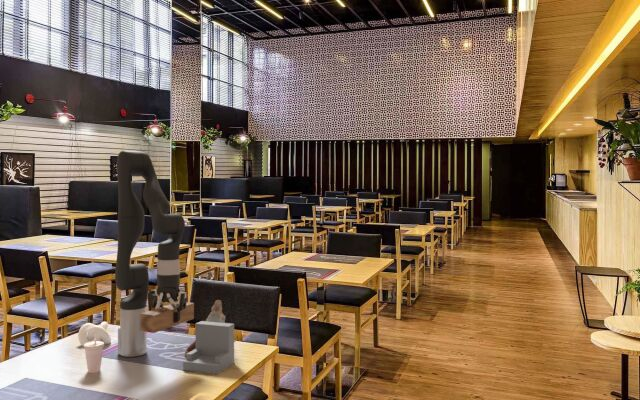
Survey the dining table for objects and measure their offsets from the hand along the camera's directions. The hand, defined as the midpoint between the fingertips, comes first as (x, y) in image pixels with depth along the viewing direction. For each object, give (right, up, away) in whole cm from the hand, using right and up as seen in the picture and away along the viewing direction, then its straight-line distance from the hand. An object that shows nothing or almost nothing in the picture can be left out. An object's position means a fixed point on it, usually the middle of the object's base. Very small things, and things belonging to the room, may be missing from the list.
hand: (168, 321), depth 172 cm
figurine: (+8, -15, +32) cm, 36 cm away
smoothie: (-25, -17, -2) cm, 30 cm away
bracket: (+13, -17, +5) cm, 22 cm away
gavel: (+5, -18, +25) cm, 31 cm away
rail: (0, -1, 0) cm, 1 cm away
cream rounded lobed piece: (-36, -17, +28) cm, 48 cm away
